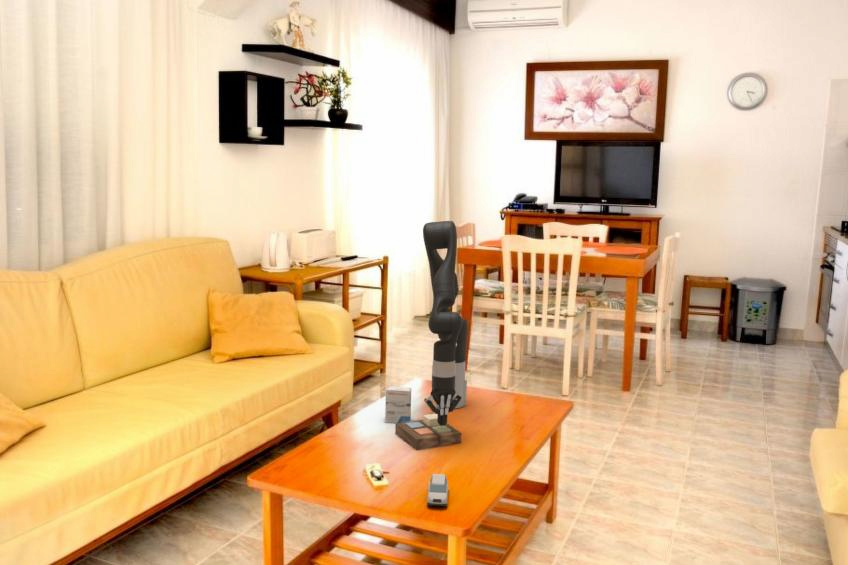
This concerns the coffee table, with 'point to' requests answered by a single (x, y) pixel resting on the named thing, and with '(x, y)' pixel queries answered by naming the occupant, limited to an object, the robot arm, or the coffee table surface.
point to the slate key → (414, 425)
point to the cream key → (430, 420)
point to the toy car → (438, 490)
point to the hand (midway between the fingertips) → (442, 425)
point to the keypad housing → (427, 436)
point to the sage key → (441, 429)
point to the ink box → (398, 405)
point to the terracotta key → (423, 431)
